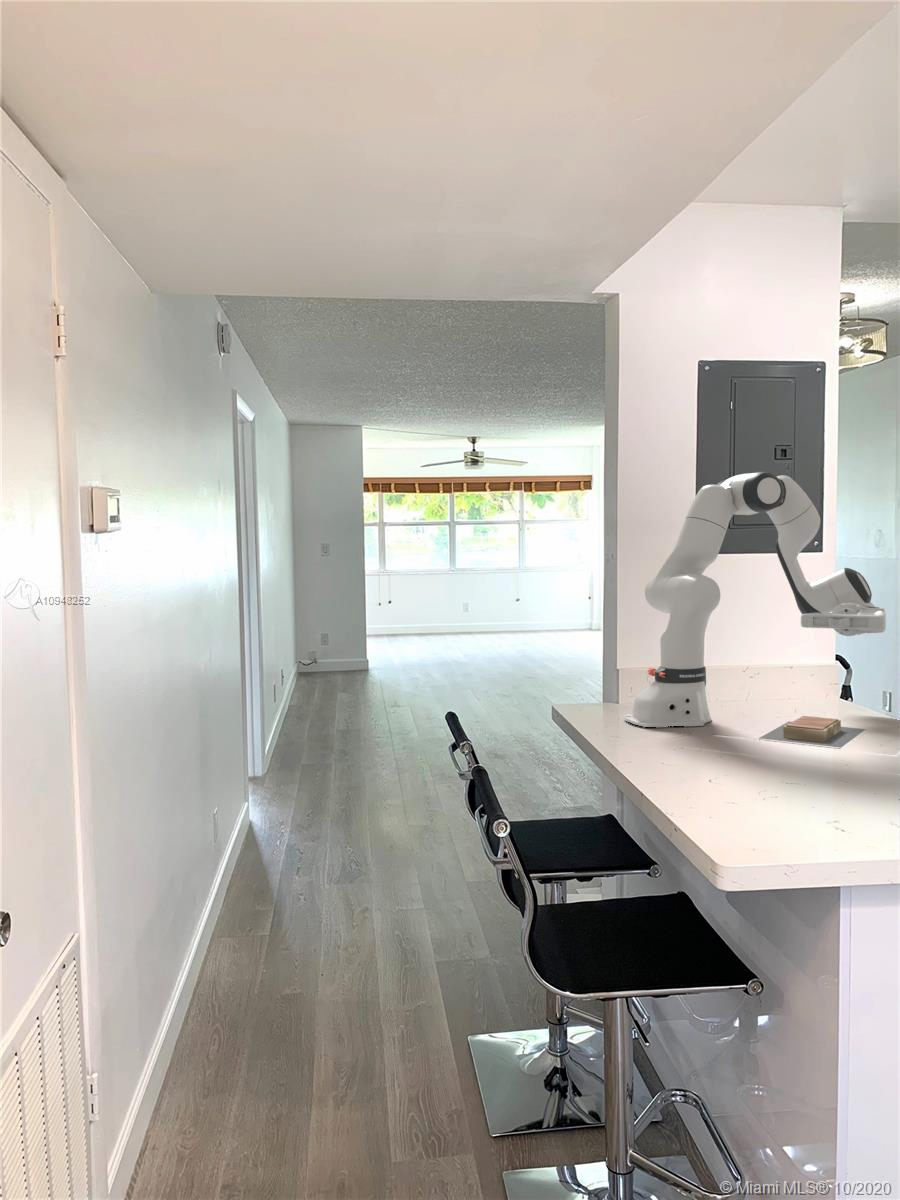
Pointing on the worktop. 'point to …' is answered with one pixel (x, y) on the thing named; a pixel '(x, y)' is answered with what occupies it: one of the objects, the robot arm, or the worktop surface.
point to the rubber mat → (834, 741)
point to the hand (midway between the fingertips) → (835, 623)
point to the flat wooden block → (812, 728)
